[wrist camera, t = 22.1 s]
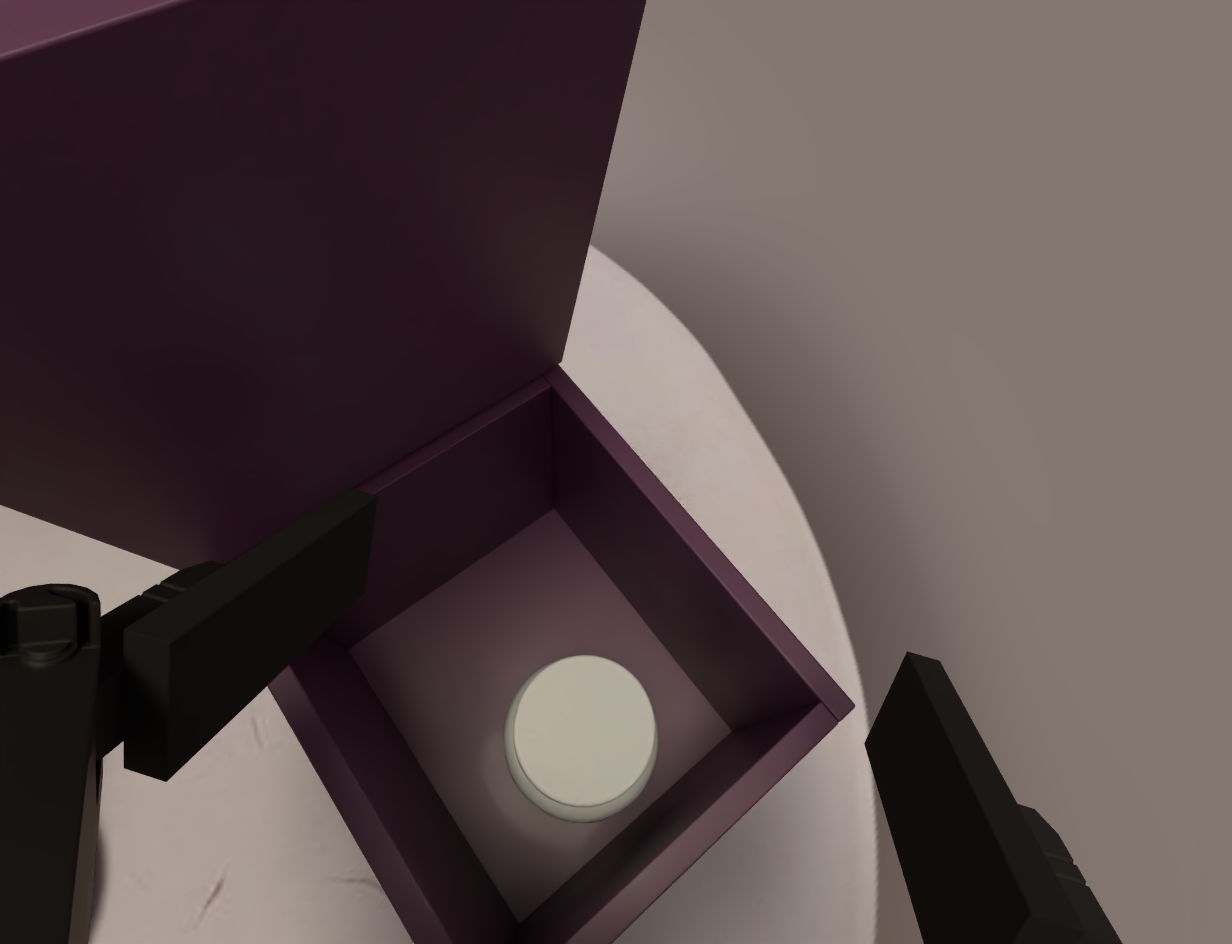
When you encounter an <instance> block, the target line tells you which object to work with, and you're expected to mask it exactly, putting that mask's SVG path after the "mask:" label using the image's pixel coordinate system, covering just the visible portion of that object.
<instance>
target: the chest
mask: <svg viewBox="0 0 1232 944" xmlns="http://www.w3.org/2000/svg"><path fill="white" fill-rule="evenodd" d="M352 489H356V490H359V491H362V492H366V493H369V494H373V495H376V496H378V501H377V508H376V516H375V523H374V530H373V537H372V545H371V552H370V559H369V567H368V574H367V581H366V589H365V593H364V594H363V595H362V596H361V597H360V598H359V599H358V600H357V601H355V602H354V603H353V604H352V605H351V606H350V607H349V608H348V609H347V610H346V611H345V612H344V613H343V614H342V615H341V616H340V617H339V618H338V619H337V620H336V621H334V622H333V623H332V624H331V625H330V626H329V627H328V628H327V629H326V630H325V631H324V632H323V633H322V634H321V635H320V636H319V637H318V638H317V639H316V640H315V641H314V642H312V643H311V644H310V645H309V646H308V647H307V648H306V649H305V650H304V651H303V652H302V653H301V654H300V655H299V656H298V657H297V658H296V659H295V660H294V661H293V662H292V663H290V664H289V665H288V666H287V667H286V668H285V669H284V670H283V671H282V672H281V673H280V674H279V675H278V676H277V677H276V678H275V679H274V680H273V681H272V682H271V683H270V684H268V685H267V686H268V688H269V690H270V692H271V693H272V695H273V697H274V699H275V700H276V702H277V704H278V706H279V707H280V709H281V711H282V713H283V714H284V716H285V718H286V720H287V721H288V723H289V725H290V727H291V728H292V730H293V732H294V734H295V735H296V737H297V739H298V741H299V742H300V744H301V746H302V748H303V749H304V751H305V753H306V755H307V756H308V758H309V760H310V762H311V763H312V765H313V767H314V769H315V770H316V772H317V774H318V776H319V777H320V779H321V781H322V783H323V785H324V786H325V788H326V790H327V792H328V793H329V795H330V797H331V799H332V800H333V802H334V804H335V806H336V807H337V809H338V811H339V813H340V814H341V816H342V818H343V820H344V821H345V823H346V825H347V827H348V828H349V830H350V832H351V834H352V835H353V837H354V839H355V841H356V842H357V844H358V846H359V848H360V849H361V851H362V853H363V855H364V856H365V858H366V860H367V862H368V863H369V865H370V867H371V869H372V870H373V872H374V874H375V876H376V877H377V879H378V881H379V883H380V884H381V886H382V888H383V890H384V891H385V893H386V895H387V897H388V899H389V900H390V902H391V904H392V906H393V907H394V909H395V911H396V913H397V914H398V916H399V918H400V920H401V921H402V923H403V925H404V927H405V928H406V930H407V932H408V934H409V935H410V937H411V939H412V941H413V942H414V944H611V943H612V942H613V941H615V940H616V939H617V938H618V937H619V936H620V935H621V934H622V933H623V932H624V931H625V930H626V929H627V928H628V927H629V926H630V925H631V924H632V923H633V922H634V921H635V920H636V919H637V918H638V917H639V916H640V915H641V914H642V913H643V912H644V911H645V910H647V909H648V908H649V907H650V906H651V905H652V904H653V903H654V902H655V901H656V900H657V899H658V898H659V897H660V896H661V895H662V894H663V893H664V892H665V891H666V890H667V889H668V888H669V887H670V886H671V885H672V884H673V883H674V882H675V881H676V880H677V879H679V878H680V877H681V876H682V875H683V874H684V873H685V872H686V871H687V870H688V869H689V868H690V867H691V866H692V865H693V864H694V863H695V862H696V861H697V860H698V859H699V858H700V857H701V856H702V855H703V854H704V853H705V852H706V851H707V850H708V849H709V848H711V847H712V846H713V845H714V844H715V843H716V842H717V841H718V840H719V839H720V838H721V837H722V836H723V835H724V834H725V833H726V832H727V831H728V830H729V829H730V828H731V827H732V826H733V825H734V824H735V823H736V822H737V821H738V820H739V819H740V818H741V817H743V816H744V815H745V814H746V813H747V812H748V811H749V810H750V809H751V808H752V807H753V806H754V805H755V804H756V803H757V802H758V801H759V800H760V799H761V798H762V797H763V796H764V795H765V794H766V793H767V792H768V791H769V790H770V789H771V788H772V787H773V786H775V785H776V784H777V783H778V782H779V781H780V780H781V779H782V778H783V777H784V776H785V775H786V774H787V773H788V772H789V771H790V770H791V769H792V768H793V767H794V766H795V765H796V764H797V763H798V762H799V761H800V760H801V759H802V758H803V757H804V756H805V755H807V754H808V753H809V752H810V751H811V750H812V749H813V748H814V747H815V746H816V745H817V744H818V743H819V742H820V741H821V740H822V739H823V738H824V737H825V736H826V735H827V734H828V733H829V732H830V731H831V730H832V729H833V728H834V727H835V726H836V725H837V724H838V722H840V721H841V720H842V719H843V718H844V717H845V716H846V715H848V714H849V713H850V712H851V711H852V710H853V709H854V708H855V704H854V703H853V702H852V701H851V699H850V698H849V697H848V696H847V695H846V694H845V693H844V691H843V690H842V689H841V688H840V687H839V686H838V685H837V683H836V682H835V681H834V680H833V679H832V678H831V676H830V675H829V674H828V673H827V672H826V671H825V670H824V668H823V667H822V666H821V665H820V664H819V663H818V662H817V660H816V659H815V658H814V657H813V656H812V655H811V654H810V652H809V651H808V650H807V649H806V648H805V647H804V646H803V644H802V643H801V642H800V641H799V640H798V639H797V638H796V636H795V635H794V634H793V633H792V632H791V631H790V629H789V628H788V627H787V626H786V625H785V624H784V623H783V621H782V620H781V619H780V618H779V617H778V616H777V615H776V613H775V612H774V611H773V610H772V609H771V608H770V607H769V605H768V604H767V603H766V602H765V601H764V600H763V599H762V597H761V596H760V595H759V594H758V593H757V592H756V590H755V589H754V588H753V587H752V586H751V585H750V584H749V582H748V581H747V580H746V579H745V578H744V577H743V576H742V574H741V573H740V572H739V571H738V570H737V569H736V568H735V566H734V565H733V564H732V563H731V562H730V561H729V560H728V558H727V557H726V556H725V555H724V554H723V553H722V552H721V550H720V549H719V548H718V547H717V546H716V545H715V543H714V542H713V541H712V540H711V539H710V538H709V537H708V535H707V534H706V533H705V532H704V531H703V530H702V529H701V527H700V526H699V525H698V524H697V523H696V522H695V521H694V519H693V518H692V517H691V516H690V515H689V514H688V513H687V511H686V510H685V509H684V508H683V507H682V506H681V505H680V503H679V502H678V501H677V500H676V499H675V498H674V496H673V495H672V494H671V493H670V492H669V491H668V490H667V488H666V487H665V486H664V485H663V484H662V483H661V482H660V480H659V479H658V478H657V477H656V476H655V475H654V474H653V472H652V471H651V470H650V469H649V468H648V467H647V466H646V464H645V463H644V462H643V461H642V460H641V459H640V458H639V456H638V455H637V454H636V453H635V452H634V451H633V449H632V448H631V447H630V446H629V445H628V444H627V443H626V441H625V440H624V439H623V438H622V437H621V436H620V435H619V433H618V432H617V431H616V430H615V429H614V428H613V427H612V425H611V424H610V423H609V422H608V421H607V420H606V419H605V417H604V416H603V415H602V414H601V413H600V412H599V411H598V409H597V408H596V407H595V406H594V405H593V404H592V402H591V401H590V400H589V399H588V398H587V397H586V396H585V394H584V393H583V392H582V391H581V390H580V389H579V388H578V386H577V385H576V384H575V383H574V382H573V381H572V380H571V378H570V377H569V376H568V375H567V374H566V373H565V372H564V370H563V369H562V368H561V367H560V366H559V365H558V364H557V365H555V366H554V367H552V368H550V369H549V370H547V371H545V372H544V373H542V374H540V375H539V376H537V377H535V378H534V379H532V380H530V381H529V382H527V383H525V384H524V385H522V386H520V387H519V388H517V389H515V390H514V391H512V392H510V393H509V394H507V395H505V396H504V397H502V398H500V399H499V400H497V401H495V402H494V403H492V404H490V405H489V406H487V407H485V408H484V409H482V410H480V411H479V412H477V413H475V414H474V415H472V416H471V417H469V418H467V419H466V420H464V421H462V422H461V423H459V424H457V425H456V426H454V427H452V428H451V429H449V430H447V431H446V432H444V433H442V434H441V435H439V436H437V437H436V438H434V439H432V440H431V441H429V442H427V443H426V444H424V445H422V446H421V447H419V448H417V449H416V450H414V451H412V452H411V453H409V454H407V455H406V456H404V457H402V458H401V459H399V460H397V461H396V462H394V463H392V464H391V465H389V466H387V467H386V468H384V469H382V470H381V471H379V472H377V473H376V474H374V475H372V476H371V477H369V478H367V479H366V480H364V481H362V482H361V483H359V484H357V485H356V486H354V487H352ZM264 541H265V540H264ZM259 544H260V543H259ZM256 546H257V545H256ZM254 547H255V546H254ZM251 549H252V548H251ZM249 550H250V549H249ZM249 550H248V551H249ZM246 552H247V551H246ZM244 553H245V552H244ZM244 553H243V554H244ZM241 555H242V554H241ZM241 555H239V556H241ZM239 556H238V557H239ZM238 557H236V558H238ZM236 558H234V559H236ZM234 559H233V560H234ZM233 560H231V561H233ZM231 561H229V562H228V563H230V562H231ZM228 563H226V564H228ZM226 564H224V565H226ZM577 655H593V656H598V657H602V658H606V659H609V660H611V661H614V662H616V663H618V664H619V665H621V666H623V667H624V668H626V669H627V670H628V671H629V672H631V673H632V674H633V675H634V677H635V678H636V679H637V680H638V681H639V682H640V684H641V685H642V686H643V688H644V690H645V691H646V693H647V696H648V698H649V700H650V701H651V704H652V706H653V709H654V712H655V716H656V720H657V725H658V731H659V748H658V755H657V760H656V763H655V767H654V770H653V773H652V775H651V777H650V779H649V781H648V783H647V786H646V787H645V789H644V790H643V792H642V793H641V794H640V795H639V796H638V797H637V798H636V800H634V801H633V802H632V803H631V804H630V805H629V806H627V807H626V808H625V809H623V810H622V811H621V812H619V813H617V814H615V815H614V816H612V817H609V818H607V819H605V820H602V821H599V822H592V823H575V822H569V821H564V820H560V819H557V818H555V817H553V816H551V815H548V814H546V813H545V812H543V811H542V810H540V809H539V808H537V807H536V806H535V805H533V804H532V803H531V802H530V801H529V800H528V799H527V798H526V797H525V796H524V794H523V793H522V792H521V791H520V789H519V788H518V787H517V785H516V783H515V782H514V781H513V779H512V776H511V774H510V771H509V768H508V765H507V762H506V758H505V753H504V738H503V734H504V725H505V720H506V716H507V713H508V710H509V707H510V704H511V702H512V700H513V698H514V696H515V694H516V692H517V691H518V690H519V688H520V687H521V686H522V684H523V683H524V682H525V680H526V679H527V678H529V677H530V676H531V675H532V674H533V673H534V672H536V671H537V670H538V669H540V668H541V667H543V666H545V665H546V664H548V663H550V662H552V661H555V660H558V659H561V658H565V657H569V656H577Z"/></svg>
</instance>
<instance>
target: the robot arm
mask: <svg viewBox="0 0 1232 944" xmlns="http://www.w3.org/2000/svg"><path fill="white" fill-rule="evenodd" d="M377 501H378V496H376V495H373V494H369V493H366V492H362V491H359V490H356V489H352V488H347V489H346V490H344V491H342V492H341V493H339V494H338V495H336V496H335V497H333V498H331V499H330V500H328V501H327V502H325V503H323V504H322V505H320V506H319V507H317V508H315V509H314V510H312V511H311V512H309V513H307V514H306V515H304V516H303V517H301V518H300V519H298V520H296V521H295V522H293V523H292V524H290V525H288V526H287V527H285V528H284V529H282V530H280V531H279V532H277V533H276V534H274V535H273V536H271V537H269V538H268V539H266V540H265V541H263V542H261V543H260V544H258V545H257V546H255V547H253V548H252V549H250V550H249V551H247V552H245V553H244V554H242V555H241V556H239V557H238V558H236V559H234V560H233V561H231V562H230V563H228V564H226V565H224V564H220V563H217V562H214V561H208V562H205V563H201V564H198V565H194V566H191V567H187V568H184V569H182V570H180V571H178V572H177V573H175V574H173V575H171V576H170V577H168V578H166V579H165V580H163V581H161V583H160V585H157V584H156V585H154V586H153V587H151V588H149V589H148V590H146V591H144V592H143V594H142V595H141V596H140V595H137V596H136V597H134V598H132V599H130V600H129V601H127V602H125V603H124V604H122V605H120V606H118V607H117V608H115V609H113V610H112V611H110V612H108V613H107V614H105V615H103V616H101V609H100V600H99V597H98V594H96V593H95V592H93V591H92V590H90V589H88V588H86V587H82V586H77V585H73V584H45V585H38V586H31V587H27V588H24V589H21V590H17V591H14V592H11V593H9V594H7V595H5V596H3V597H2V598H0V944H88V939H89V927H90V916H91V904H92V893H93V881H94V870H95V858H96V847H97V835H98V824H99V812H100V801H101V789H102V777H103V757H104V756H105V755H107V754H108V753H109V752H110V751H112V750H113V749H114V748H115V747H116V746H118V745H119V744H120V743H121V742H123V741H124V768H125V769H128V770H131V771H134V772H137V773H140V774H143V775H147V776H150V777H153V778H156V779H159V780H162V781H165V782H167V781H168V780H169V779H170V778H171V777H172V776H173V775H174V774H175V773H176V772H177V771H178V770H179V769H180V768H181V767H183V766H184V765H185V764H186V763H187V762H188V761H189V760H190V759H191V758H192V757H193V756H194V755H195V754H196V753H197V752H198V751H199V750H200V749H201V748H202V747H204V746H205V745H206V744H207V743H208V742H209V741H210V740H211V739H212V738H213V737H214V736H215V735H216V734H217V733H218V732H219V731H220V730H221V729H222V728H223V727H224V726H226V725H227V724H228V723H229V722H230V721H231V720H232V719H233V718H234V717H235V716H236V715H237V714H238V713H239V712H240V711H241V710H242V709H243V708H244V707H245V706H246V705H248V704H249V703H250V702H251V701H252V700H253V699H254V698H255V697H256V696H257V695H258V694H259V693H260V692H261V691H262V690H263V689H264V688H265V687H266V686H267V685H268V684H270V683H271V682H272V681H273V680H274V679H275V678H276V677H277V676H278V675H279V674H280V673H281V672H282V671H283V670H284V669H285V668H286V667H287V666H288V665H289V664H290V663H292V662H293V661H294V660H295V659H296V658H297V657H298V656H299V655H300V654H301V653H302V652H303V651H304V650H305V649H306V648H307V647H308V646H309V645H310V644H311V643H312V642H314V641H315V640H316V639H317V638H318V637H319V636H320V635H321V634H322V633H323V632H324V631H325V630H326V629H327V628H328V627H329V626H330V625H331V624H332V623H333V622H334V621H336V620H337V619H338V618H339V617H340V616H341V615H342V614H343V613H344V612H345V611H346V610H347V609H348V608H349V607H350V606H351V605H352V604H353V603H354V602H355V601H357V600H358V599H359V598H360V597H361V596H362V595H363V594H364V593H365V589H366V581H367V574H368V567H369V559H370V552H371V545H372V537H373V530H374V523H375V516H376V508H377ZM864 744H865V747H866V751H867V754H868V757H869V761H870V764H871V768H872V771H873V774H874V778H875V781H876V784H877V788H878V791H879V794H880V798H881V801H882V804H883V808H884V811H885V814H886V818H887V821H888V824H889V828H890V831H891V835H892V838H893V841H894V845H895V848H896V851H897V855H898V858H899V862H900V865H901V868H902V871H903V875H904V878H905V882H906V885H907V888H908V892H909V895H910V898H911V902H912V905H913V909H914V912H915V915H916V918H917V922H918V925H919V928H920V932H921V935H922V939H923V942H924V944H1122V942H1121V940H1120V939H1119V937H1118V935H1117V934H1116V932H1115V930H1114V928H1113V927H1112V925H1111V923H1110V922H1109V920H1108V918H1107V917H1106V915H1105V913H1104V912H1103V910H1102V908H1101V906H1100V905H1099V903H1098V901H1097V900H1096V898H1095V896H1094V895H1093V893H1092V891H1091V889H1090V888H1089V887H1088V886H1086V885H1085V883H1086V881H1085V879H1084V877H1083V876H1082V874H1081V872H1080V870H1079V869H1078V867H1077V866H1076V865H1074V864H1073V859H1072V857H1071V855H1070V853H1069V852H1068V850H1067V848H1066V847H1065V845H1064V843H1063V842H1062V840H1061V838H1060V836H1059V835H1058V834H1057V832H1056V831H1055V830H1054V829H1053V828H1052V827H1051V826H1050V825H1049V824H1048V823H1047V822H1046V821H1045V820H1044V819H1043V818H1042V817H1041V816H1040V814H1039V813H1038V812H1037V811H1036V810H1035V809H1032V808H1029V807H1025V806H1023V805H1019V804H1017V802H1016V800H1015V799H1014V797H1013V795H1012V793H1011V791H1010V789H1009V788H1008V786H1007V784H1006V782H1005V780H1004V778H1003V777H1002V775H1001V773H1000V771H999V769H998V767H997V765H996V764H995V762H994V760H993V758H992V756H991V754H990V753H989V751H988V749H987V747H986V745H985V743H984V742H983V740H982V738H981V736H980V734H979V732H978V731H977V729H976V727H975V725H974V723H973V721H972V719H971V718H970V716H969V714H968V712H967V710H966V708H965V707H964V705H963V703H962V701H961V699H960V697H959V696H958V694H957V692H956V690H955V688H954V687H953V685H952V683H951V681H950V679H949V677H948V676H947V674H946V672H945V670H944V668H943V666H942V664H941V663H940V661H938V660H934V659H931V658H928V657H924V656H921V655H918V654H914V653H911V652H907V653H906V655H905V657H904V659H903V662H902V664H901V666H900V668H899V670H898V672H897V675H896V677H895V679H894V681H893V683H892V685H891V687H890V690H889V692H888V694H887V696H886V698H885V700H884V702H883V705H882V707H881V709H880V711H879V713H878V715H877V717H876V720H875V722H874V724H873V726H872V728H871V730H870V733H869V735H868V737H867V739H866V741H865V743H864Z"/></svg>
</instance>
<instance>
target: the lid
mask: <svg viewBox="0 0 1232 944" xmlns="http://www.w3.org/2000/svg"><path fill="white" fill-rule="evenodd" d="M645 4H646V0H0V505H2V506H5V507H8V508H10V509H13V510H16V511H19V512H21V513H24V514H27V515H30V516H32V517H35V518H38V519H41V520H43V521H46V522H49V523H52V524H54V525H57V526H60V527H63V528H65V529H68V530H71V531H74V532H76V533H79V534H82V535H85V536H87V537H90V538H93V539H96V540H98V541H101V542H104V543H107V544H109V545H112V546H115V547H118V548H120V549H123V550H126V551H129V552H131V553H134V554H137V555H140V556H142V557H145V558H148V559H151V560H153V561H156V562H159V563H162V564H164V565H167V566H170V567H173V568H175V569H178V570H182V569H184V568H187V567H191V566H194V565H198V564H201V563H205V562H208V561H214V562H217V563H220V564H226V563H228V562H229V561H231V560H233V559H234V558H236V557H238V556H239V555H241V554H243V553H244V552H246V551H248V550H249V549H251V548H253V547H254V546H256V545H258V544H259V543H261V542H263V541H264V540H266V539H268V538H269V537H271V536H273V535H274V534H276V533H277V532H279V531H280V530H282V529H284V528H285V527H287V526H288V525H290V524H292V523H293V522H295V521H296V520H298V519H300V518H301V517H303V516H304V515H306V514H307V513H309V512H311V511H312V510H314V509H315V508H317V507H319V506H320V505H322V504H323V503H325V502H327V501H328V500H330V499H331V498H333V497H335V496H336V495H338V494H339V493H341V492H342V491H344V490H346V489H347V488H352V487H354V486H356V485H357V484H359V483H361V482H362V481H364V480H366V479H367V478H369V477H371V476H372V475H374V474H376V473H377V472H379V471H381V470H382V469H384V468H386V467H387V466H389V465H391V464H392V463H394V462H396V461H397V460H399V459H401V458H402V457H404V456H406V455H407V454H409V453H411V452H412V451H414V450H416V449H417V448H419V447H421V446H422V445H424V444H426V443H427V442H429V441H431V440H432V439H434V438H436V437H437V436H439V435H441V434H442V433H444V432H446V431H447V430H449V429H451V428H452V427H454V426H456V425H457V424H459V423H461V422H462V421H464V420H466V419H467V418H469V417H471V416H472V415H474V414H475V413H477V412H479V411H480V410H482V409H484V408H485V407H487V406H489V405H490V404H492V403H494V402H495V401H497V400H499V399H500V398H502V397H504V396H505V395H507V394H509V393H510V392H512V391H514V390H515V389H517V388H519V387H520V386H522V385H524V384H525V383H527V382H529V381H530V380H532V379H534V378H535V377H537V376H539V375H540V374H542V373H544V372H545V371H547V370H549V369H550V368H552V367H554V366H555V365H557V364H559V363H560V362H562V358H563V354H564V350H565V345H566V341H567V337H568V333H569V328H570V324H571V320H572V316H573V311H574V307H575V303H576V299H577V294H578V290H579V286H580V281H581V277H582V273H583V269H584V264H585V260H586V256H587V252H588V247H589V243H590V239H591V235H592V230H593V226H594V222H595V217H596V213H597V209H598V205H599V200H600V196H601V192H602V188H603V183H604V179H605V175H606V171H607V166H608V162H609V158H610V153H611V149H612V145H613V141H614V136H615V132H616V127H617V124H618V119H619V115H620V111H621V107H622V102H623V98H624V94H625V89H626V85H627V81H628V77H629V72H630V68H631V64H632V59H633V55H634V51H635V47H636V43H637V38H638V34H639V30H640V25H641V21H642V17H643V12H644V8H645Z"/></svg>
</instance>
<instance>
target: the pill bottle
mask: <svg viewBox="0 0 1232 944" xmlns="http://www.w3.org/2000/svg"><path fill="white" fill-rule="evenodd" d="M503 738H504V753H505V758H506V762H507V765H508V768H509V771H510V774H511V776H512V779H513V781H514V782H515V783H516V785H517V787H518V788H519V789H520V791H521V792H522V793H523V794H524V796H525V797H526V798H527V799H528V800H529V801H530V802H531V803H532V804H533V805H535V806H536V807H537V808H539V809H540V810H542V811H543V812H545V813H546V814H548V815H551V816H553V817H555V818H557V819H560V820H564V821H569V822H575V823H592V822H599V821H602V820H605V819H607V818H609V817H612V816H614V815H615V814H617V813H619V812H621V811H622V810H623V809H625V808H626V807H627V806H629V805H630V804H631V803H632V802H633V801H634V800H636V798H637V797H638V796H639V795H640V794H641V793H642V792H643V790H644V789H645V787H646V786H647V783H648V781H649V779H650V777H651V775H652V773H653V770H654V767H655V763H656V760H657V755H658V748H659V731H658V725H657V720H656V716H655V712H654V709H653V706H652V704H651V701H650V700H649V698H648V696H647V693H646V691H645V690H644V688H643V686H642V685H641V684H640V682H639V681H638V680H637V679H636V678H635V677H634V675H633V674H632V673H631V672H629V671H628V670H627V669H626V668H624V667H623V666H621V665H619V664H618V663H616V662H614V661H611V660H609V659H606V658H602V657H598V656H593V655H577V656H569V657H565V658H561V659H558V660H555V661H552V662H550V663H548V664H546V665H545V666H543V667H541V668H540V669H538V670H537V671H536V672H534V673H533V674H532V675H531V676H530V677H529V678H527V679H526V680H525V682H524V683H523V684H522V686H521V687H520V688H519V690H518V691H517V692H516V694H515V696H514V698H513V700H512V702H511V704H510V707H509V710H508V713H507V716H506V720H505V725H504V734H503Z"/></svg>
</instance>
